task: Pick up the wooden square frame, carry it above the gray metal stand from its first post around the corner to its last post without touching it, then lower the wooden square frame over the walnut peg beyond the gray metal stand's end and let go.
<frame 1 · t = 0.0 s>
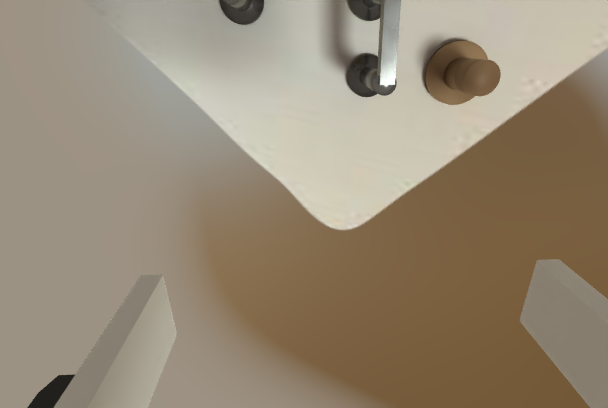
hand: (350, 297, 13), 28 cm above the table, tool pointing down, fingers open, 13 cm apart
peg stand: (454, 73, 36), on the table
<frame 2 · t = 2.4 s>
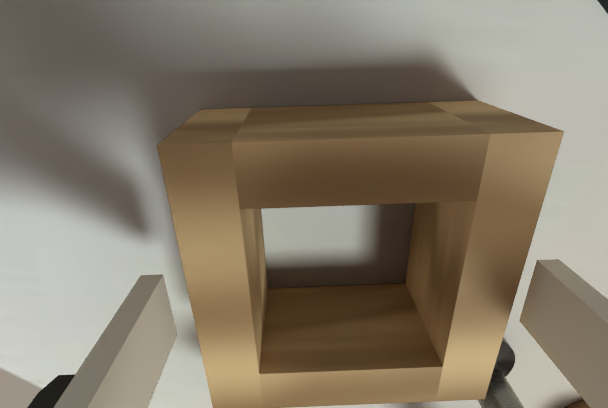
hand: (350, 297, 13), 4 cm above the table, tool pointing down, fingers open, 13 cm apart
gray metal stand: (473, 356, 20), on the table
wooden square frame: (337, 225, 16), on the table
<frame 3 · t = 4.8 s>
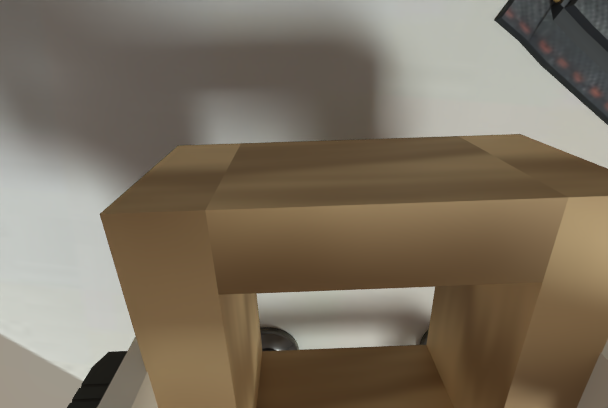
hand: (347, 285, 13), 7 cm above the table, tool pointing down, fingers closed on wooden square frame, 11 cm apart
gray metal stand: (450, 343, 23), on the table
wooden square frame: (346, 280, 14), point 6 cm above the table, touching gripper
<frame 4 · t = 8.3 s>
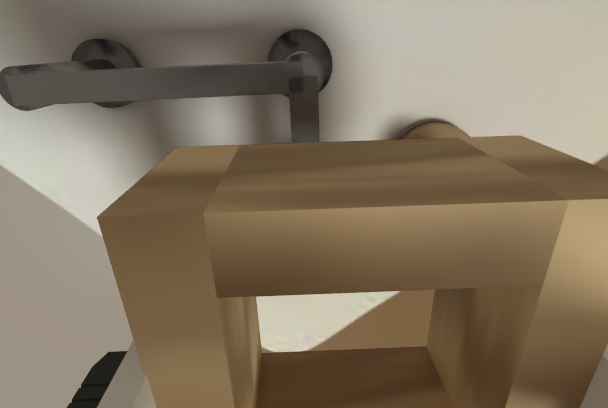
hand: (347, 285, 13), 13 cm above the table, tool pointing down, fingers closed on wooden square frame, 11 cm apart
peg stand: (429, 164, 25), on the table
gray metal stand: (299, 65, 22), on the table
wooden square frame: (345, 282, 14), point 13 cm above the table, touching gripper
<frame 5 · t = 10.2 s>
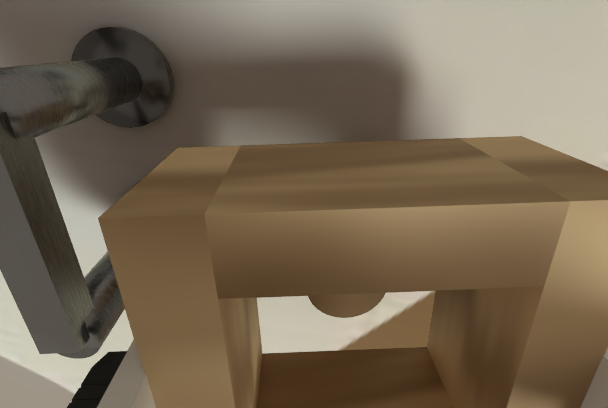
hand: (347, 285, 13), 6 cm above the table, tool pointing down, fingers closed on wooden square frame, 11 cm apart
peg stand: (331, 214, 19), on the table
gray metal stand: (126, 78, 15), on the table
wooden square frame: (346, 282, 14), point 6 cm above the table, touching gripper
when the fingers open (3 cm above the table, at t = 11.7 s): wooden square frame drops 3 cm, on the table.
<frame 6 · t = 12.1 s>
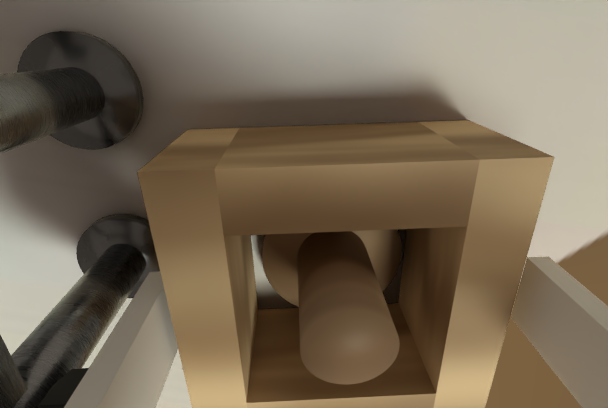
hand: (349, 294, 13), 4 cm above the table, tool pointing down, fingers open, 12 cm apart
peg stand: (329, 245, 16), on the table
gray metal stand: (87, 92, 13), on the table
wooden square frame: (328, 245, 16), on the table
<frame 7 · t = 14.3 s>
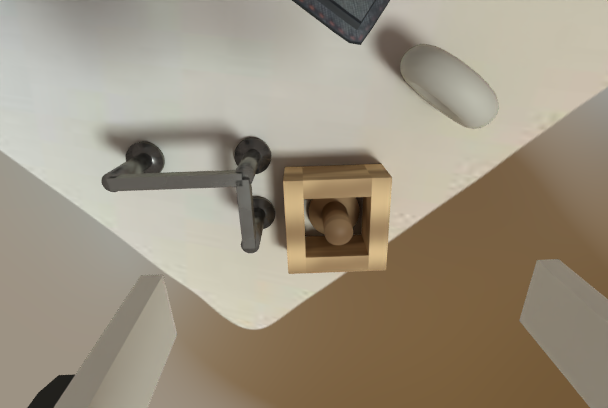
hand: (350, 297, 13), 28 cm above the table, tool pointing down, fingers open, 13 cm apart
peg stand: (333, 209, 42), on the table
donut: (428, 83, 37), on the table
gray metal stand: (253, 155, 40), on the table
wooden square frame: (333, 209, 42), on the table
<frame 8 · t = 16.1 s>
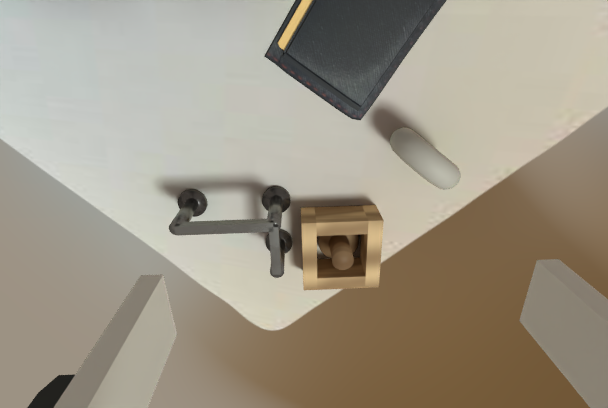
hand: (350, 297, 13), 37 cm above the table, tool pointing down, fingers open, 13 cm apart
peg stand: (338, 238, 54), on the table
dark grey book: (358, 18, 42), on the table
donut: (411, 146, 49), on the table
gray metal stand: (276, 199, 51), on the table
wooden square frame: (337, 238, 54), on the table
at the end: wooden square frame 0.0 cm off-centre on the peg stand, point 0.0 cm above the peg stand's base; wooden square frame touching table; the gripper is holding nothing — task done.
